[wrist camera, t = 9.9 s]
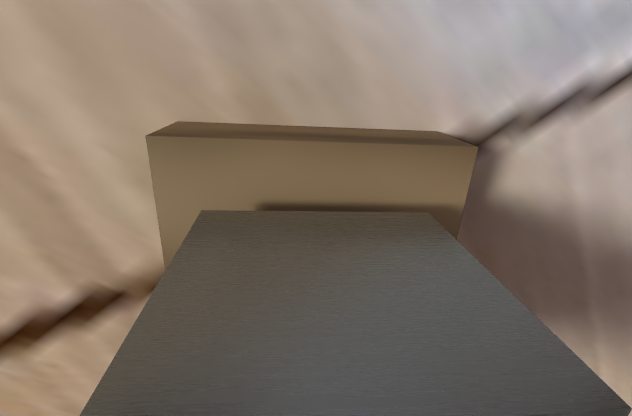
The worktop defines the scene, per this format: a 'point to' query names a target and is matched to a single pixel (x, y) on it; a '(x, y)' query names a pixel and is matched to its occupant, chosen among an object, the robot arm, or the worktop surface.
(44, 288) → the worktop surface
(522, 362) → the gray hollow cube
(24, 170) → the worktop surface
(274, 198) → the shaft block
